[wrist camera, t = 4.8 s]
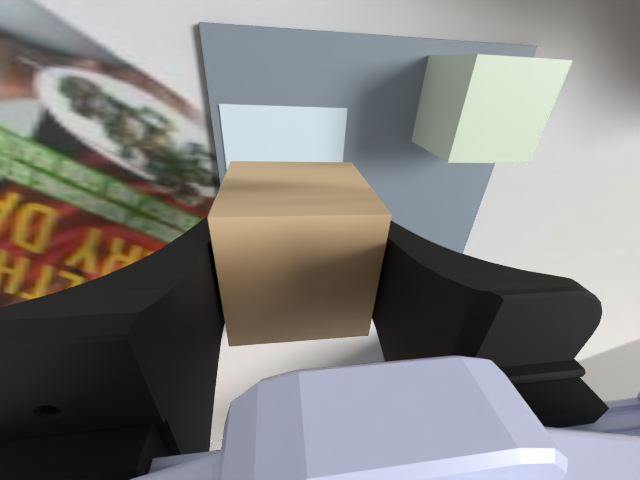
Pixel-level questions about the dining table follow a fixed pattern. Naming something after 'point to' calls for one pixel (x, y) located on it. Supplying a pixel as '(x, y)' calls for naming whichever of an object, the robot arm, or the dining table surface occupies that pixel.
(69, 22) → the dining table surface
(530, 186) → the dining table surface
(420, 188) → the slate board
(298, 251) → the oak block
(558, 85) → the sage block
